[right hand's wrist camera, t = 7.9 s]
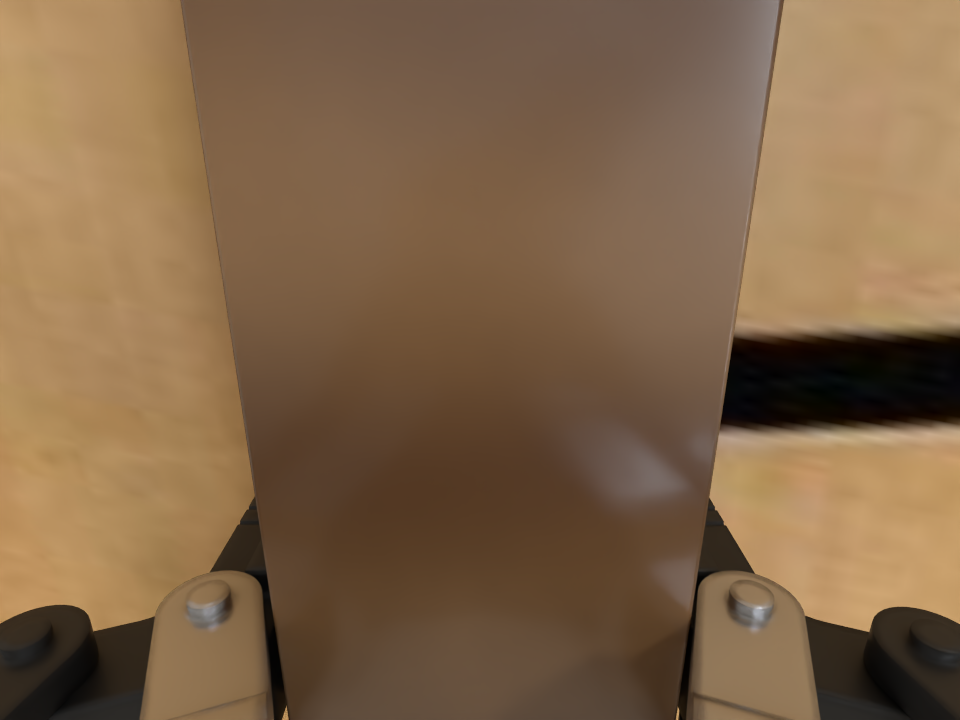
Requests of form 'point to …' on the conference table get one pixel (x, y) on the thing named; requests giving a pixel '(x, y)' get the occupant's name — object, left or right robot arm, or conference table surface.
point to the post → (482, 333)
